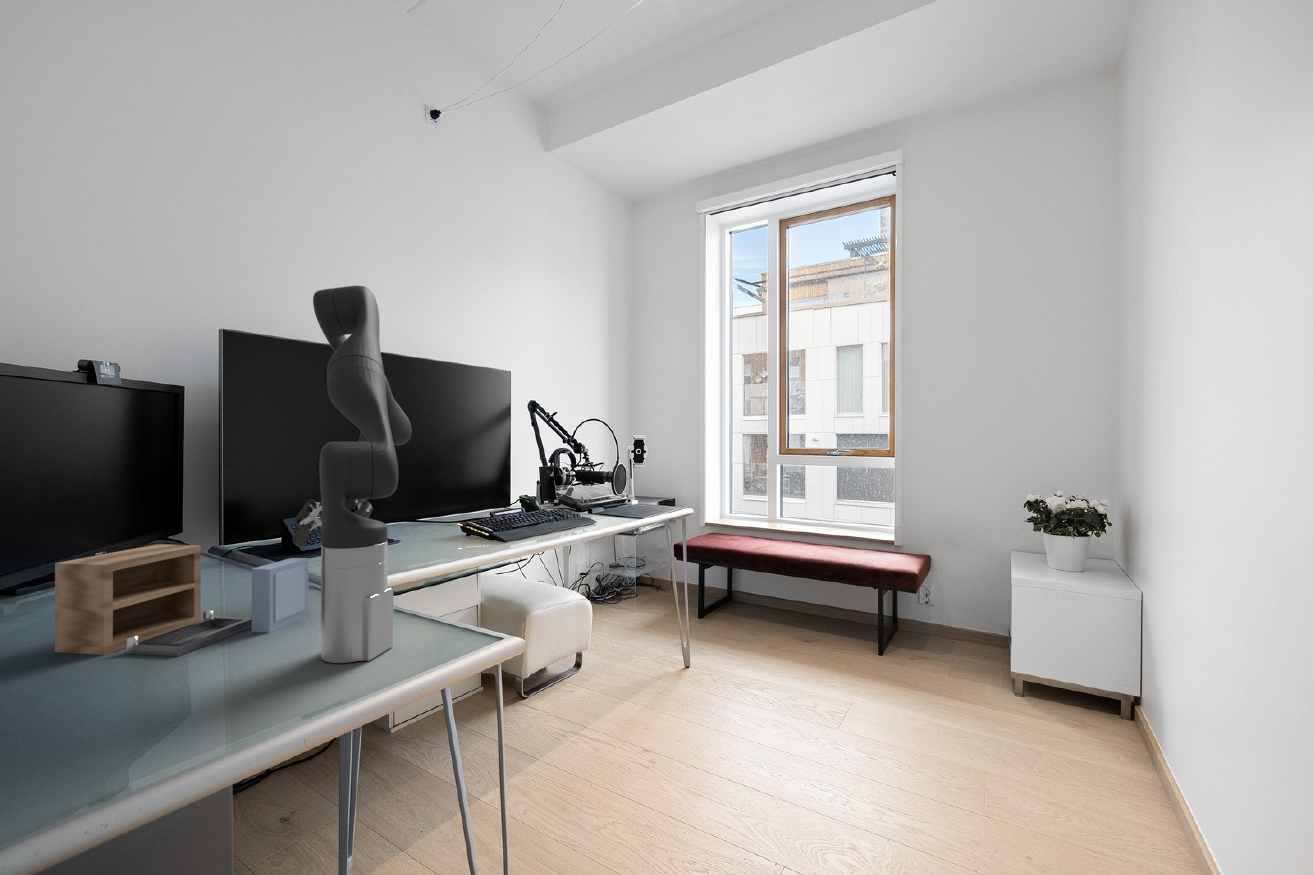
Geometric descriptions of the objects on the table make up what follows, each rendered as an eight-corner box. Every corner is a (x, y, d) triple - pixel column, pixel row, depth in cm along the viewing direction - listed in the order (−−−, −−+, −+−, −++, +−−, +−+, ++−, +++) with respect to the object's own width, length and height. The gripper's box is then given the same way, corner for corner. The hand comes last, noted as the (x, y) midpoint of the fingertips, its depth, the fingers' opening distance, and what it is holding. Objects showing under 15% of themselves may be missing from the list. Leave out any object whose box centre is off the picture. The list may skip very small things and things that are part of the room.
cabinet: (200, 621, 103) (200, 545, 103) (104, 654, 87) (104, 564, 87) (157, 619, 104) (157, 544, 104) (54, 652, 88) (55, 563, 88)
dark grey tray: (255, 625, 101) (255, 612, 101) (177, 656, 86) (177, 640, 86) (208, 623, 102) (208, 609, 102) (123, 653, 88) (123, 637, 88)
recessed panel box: (308, 616, 106) (309, 558, 106) (270, 632, 97) (270, 569, 97) (291, 615, 107) (291, 557, 107) (251, 631, 98) (251, 568, 98)
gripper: (315, 470, 120) (272, 532, 109) (377, 470, 118) (339, 534, 107) (333, 492, 126) (293, 554, 114) (392, 493, 124) (357, 556, 112)
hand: (315, 544), depth 111 cm, fingers open, 8 cm apart
